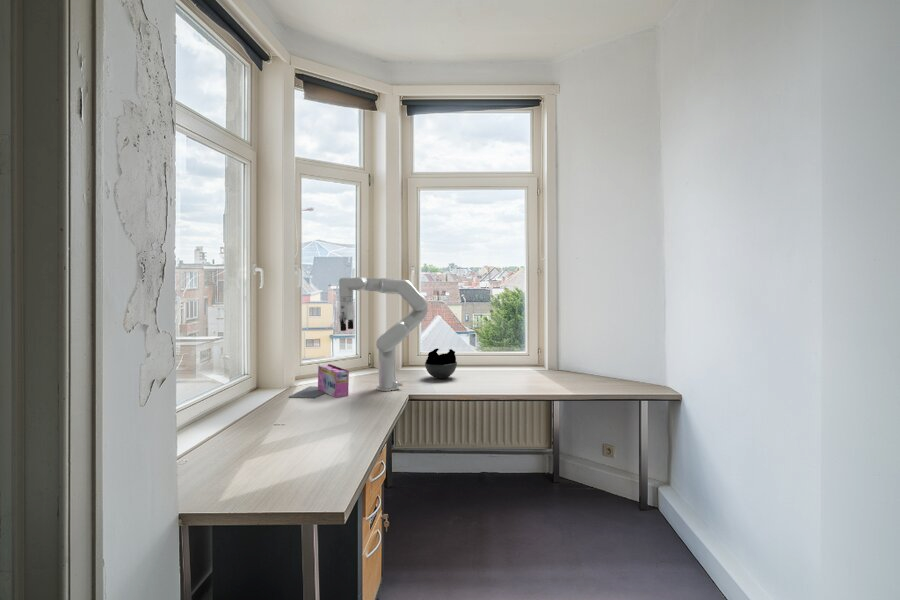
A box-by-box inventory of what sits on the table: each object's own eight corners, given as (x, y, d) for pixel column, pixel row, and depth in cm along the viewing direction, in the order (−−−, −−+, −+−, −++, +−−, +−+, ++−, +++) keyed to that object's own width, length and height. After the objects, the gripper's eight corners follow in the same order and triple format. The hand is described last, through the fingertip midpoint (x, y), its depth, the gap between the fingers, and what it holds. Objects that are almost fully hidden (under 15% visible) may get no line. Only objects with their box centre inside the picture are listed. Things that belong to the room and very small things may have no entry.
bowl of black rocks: (418, 378, 314) (418, 348, 313) (442, 374, 327) (442, 345, 326) (439, 383, 299) (439, 351, 298) (463, 378, 313) (463, 348, 312)
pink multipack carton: (316, 388, 284) (316, 365, 283) (329, 387, 289) (329, 363, 288) (335, 397, 266) (335, 372, 265) (349, 395, 271) (349, 370, 270)
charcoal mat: (334, 388, 290) (334, 386, 290) (315, 398, 265) (315, 397, 265) (309, 387, 292) (309, 386, 292) (288, 397, 268) (288, 396, 268)
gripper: (345, 300, 274) (346, 331, 275) (358, 298, 291) (359, 328, 292) (333, 300, 276) (334, 331, 276) (346, 298, 293) (347, 328, 293)
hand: (347, 329), depth 284 cm, fingers open, 9 cm apart
